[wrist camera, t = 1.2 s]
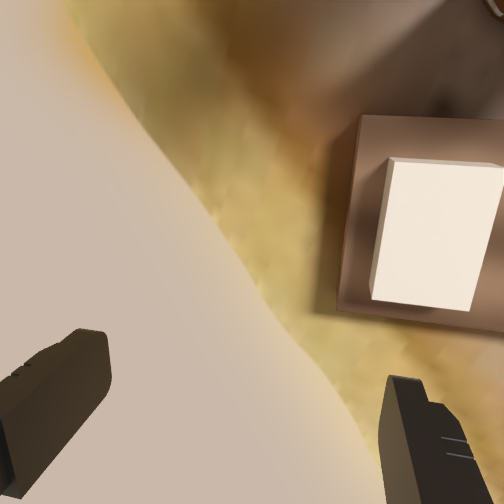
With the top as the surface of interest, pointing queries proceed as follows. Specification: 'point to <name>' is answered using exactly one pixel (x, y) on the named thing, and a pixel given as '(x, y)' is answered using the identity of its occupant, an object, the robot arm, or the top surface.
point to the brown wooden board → (369, 206)
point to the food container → (495, 9)
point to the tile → (434, 231)
